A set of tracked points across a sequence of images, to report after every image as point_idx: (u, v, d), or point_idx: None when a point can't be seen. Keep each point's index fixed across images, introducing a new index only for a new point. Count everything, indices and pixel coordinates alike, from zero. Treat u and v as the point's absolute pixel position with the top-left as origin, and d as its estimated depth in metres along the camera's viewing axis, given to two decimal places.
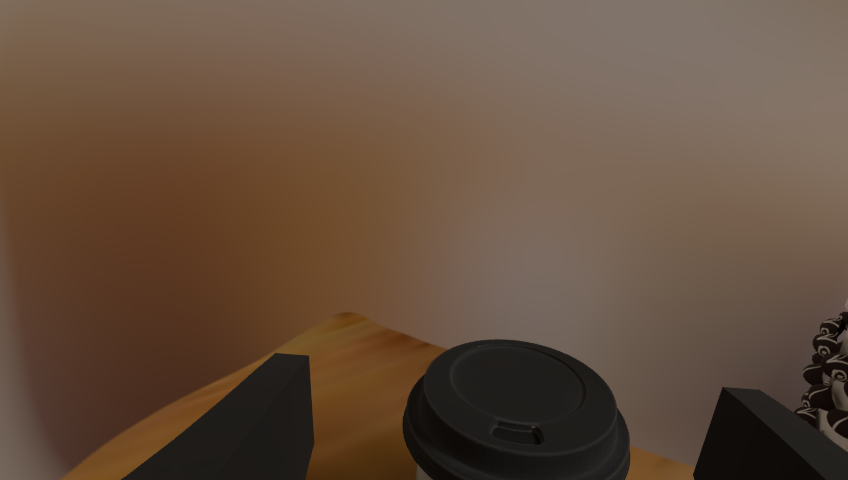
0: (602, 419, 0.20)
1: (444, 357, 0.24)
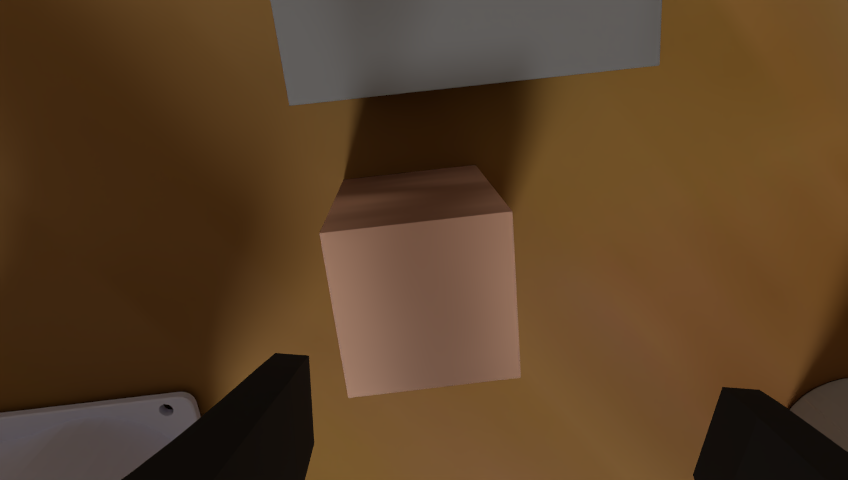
0: None
1: None
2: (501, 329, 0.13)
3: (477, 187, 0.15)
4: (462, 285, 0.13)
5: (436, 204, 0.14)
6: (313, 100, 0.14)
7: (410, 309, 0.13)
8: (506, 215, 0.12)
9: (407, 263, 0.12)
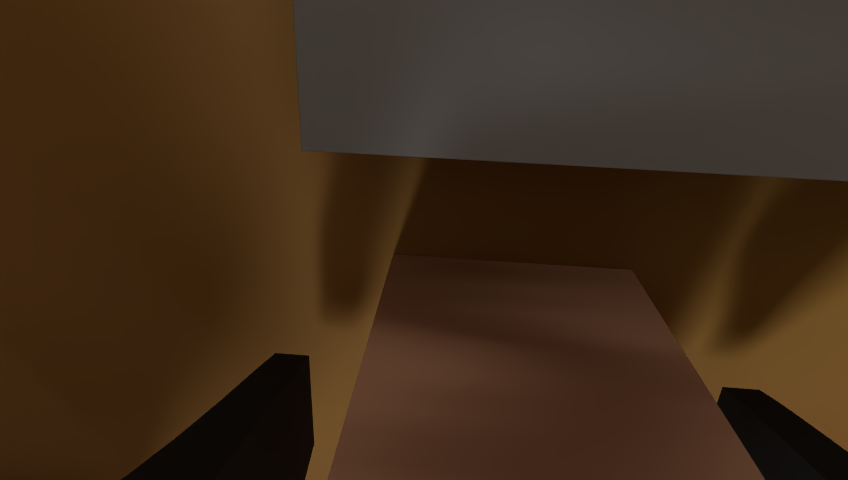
0: None
1: None
2: None
3: (671, 380, 0.07)
4: None
5: (597, 451, 0.06)
6: (356, 148, 0.06)
7: None
8: None
9: None
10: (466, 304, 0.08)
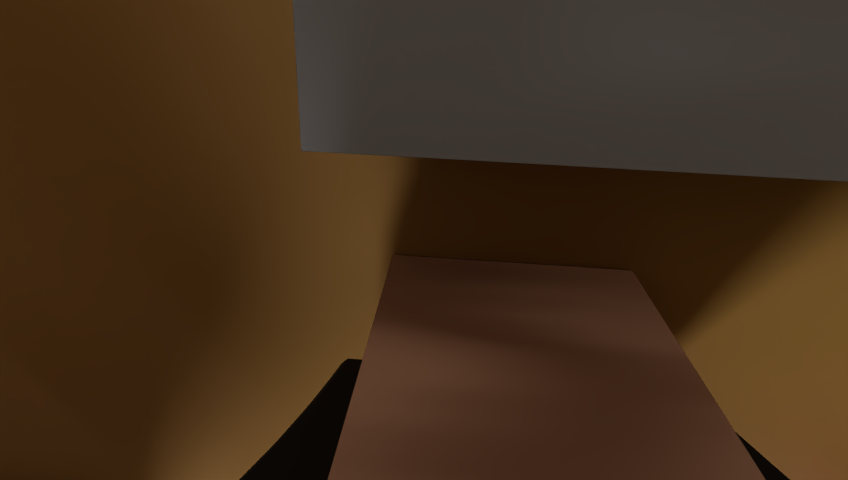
0: None
1: None
2: None
3: (673, 383, 0.07)
4: None
5: (599, 454, 0.06)
6: (355, 148, 0.06)
7: None
8: None
9: None
10: (466, 306, 0.08)
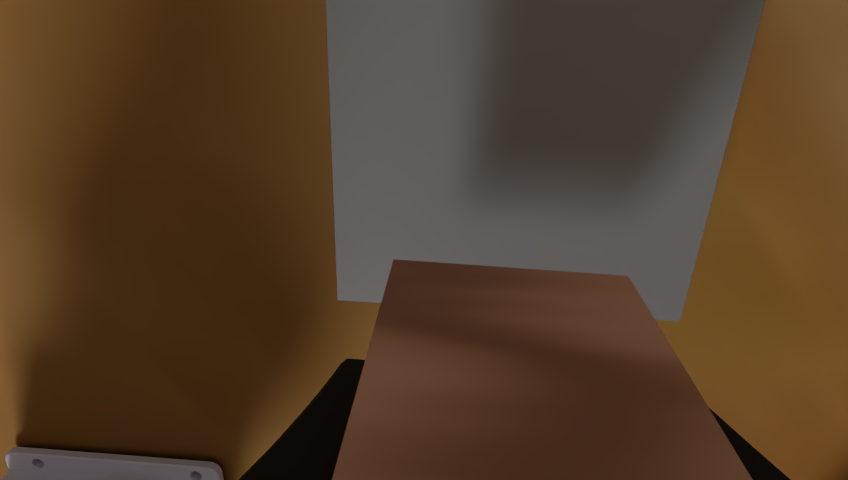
0: None
1: None
2: None
3: (666, 387, 0.07)
4: None
5: (593, 457, 0.06)
6: (359, 299, 0.16)
7: None
8: None
9: None
10: (465, 310, 0.09)
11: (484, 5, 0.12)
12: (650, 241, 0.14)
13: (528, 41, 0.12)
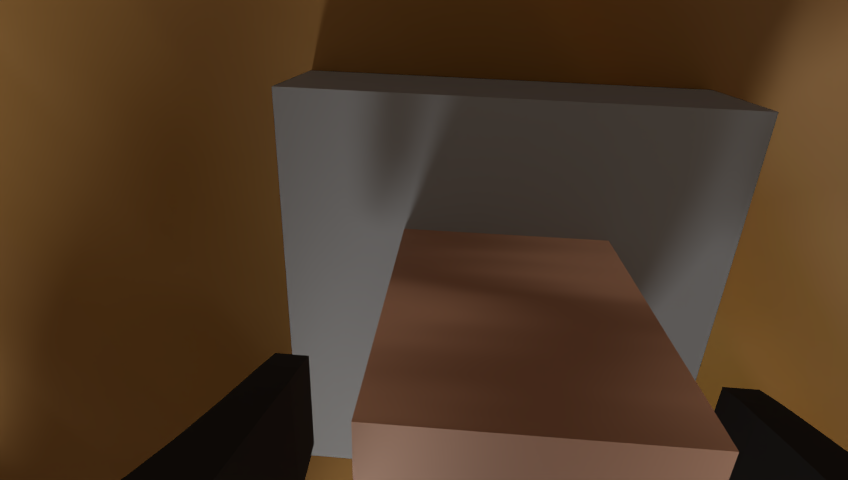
0: None
1: None
2: None
3: (633, 321, 0.09)
4: None
5: (569, 366, 0.07)
6: (322, 454, 0.15)
7: None
8: (725, 458, 0.06)
9: None
10: (467, 267, 0.10)
11: (450, 184, 0.11)
12: None
13: (498, 219, 0.12)
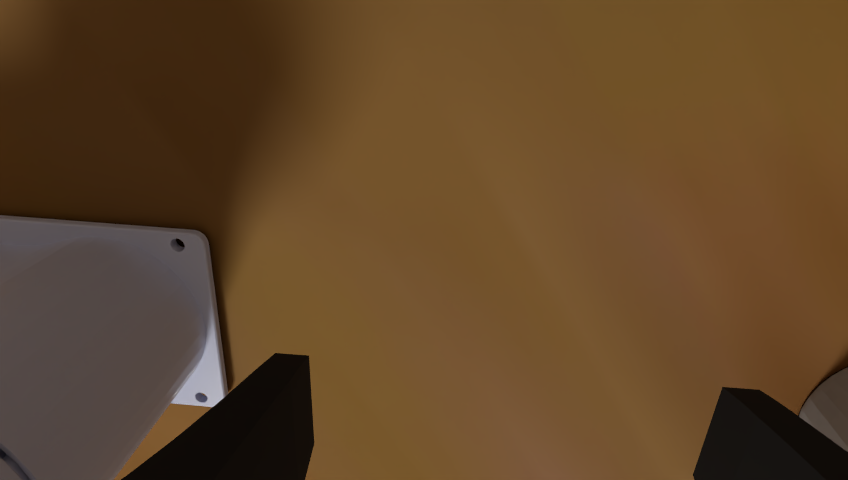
0: None
1: None
2: None
3: None
4: None
5: None
6: None
7: None
8: None
9: None
10: None
11: None
12: None
13: None
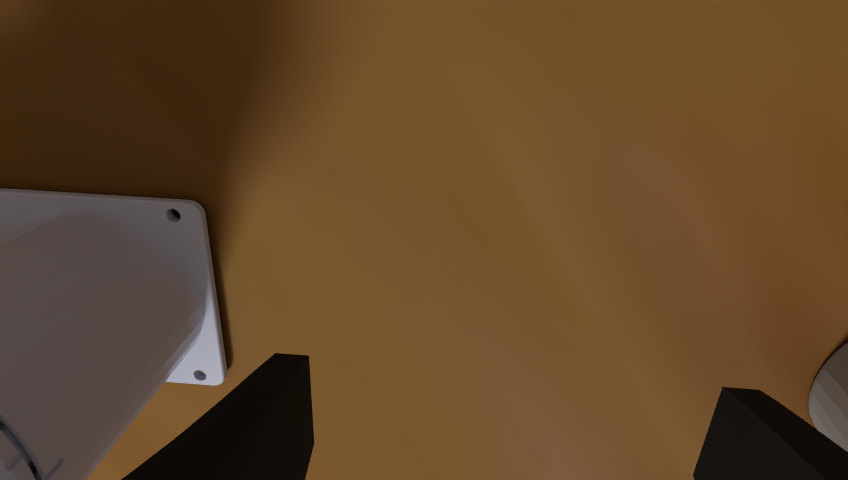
0: None
1: None
2: None
3: None
4: None
5: None
6: None
7: None
8: None
9: None
10: None
11: None
12: None
13: None
